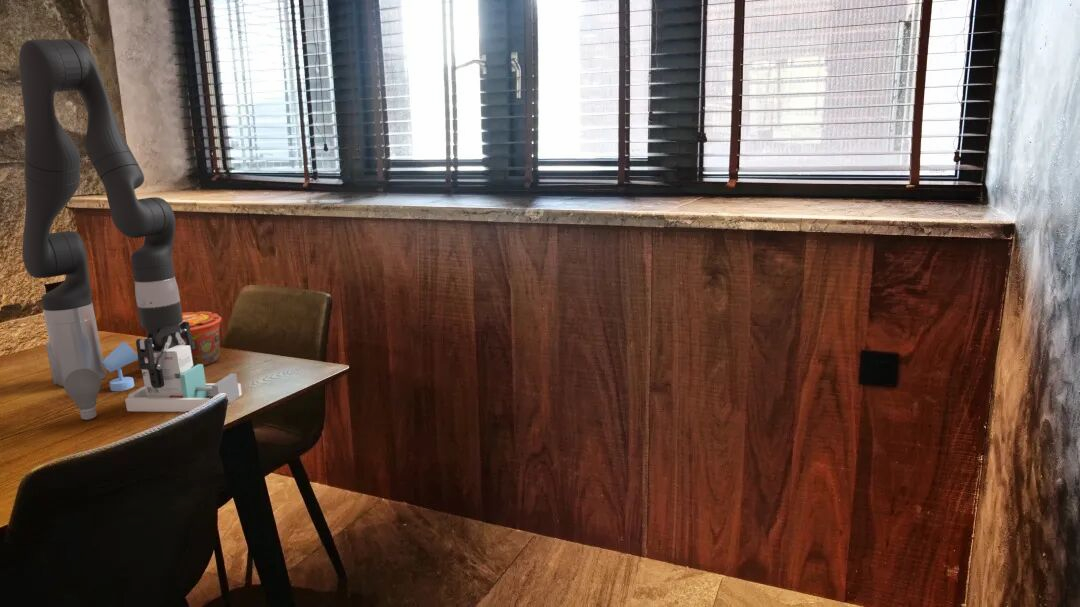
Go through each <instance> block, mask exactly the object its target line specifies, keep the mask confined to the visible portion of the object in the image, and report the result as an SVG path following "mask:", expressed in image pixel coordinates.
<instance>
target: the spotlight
mask: <svg viewBox="0 0 1080 607" xmlns="http://www.w3.org/2000/svg"><path fill="white" fill-rule="evenodd" d="M137 360H138V354H137V352H136V351H135V350H134V349H133V348H132V347H131V346H130V345H129V344H128V343H127V342H126V341H124V340H123V341H121V342H120V343H119V344H118V345H117V346H116V348H114V349H113V350H112V351H111V352H110V353H109V354H107V356H106V357H105V358H103V361H102V364H103V365H104V368H105V370H107V371H108V372H109V373H113V372H115V371H117V375H118V377H117V378H114V379H112V380H110V381H109V387H110V391H112V392H122V391H127V390H131V389H132V388H134V387H135V381H134V378H133V377H131V376H124V374H123V372H122V368H123V367H125V366H127V365H129V364H132V363H134V362H135V361H137Z"/></svg>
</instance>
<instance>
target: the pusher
mask: <svg viewBox="0 0 1080 607" xmlns="http://www.w3.org/2000/svg"><path fill="white" fill-rule="evenodd" d="M180 381H181V387H182V393H183V398H207V397H209V396H208V394H207V391H212V387H206V383H207V380H206V376H205V369H204V367H203V364H198V365H196V366H194V367H193V368H191V369H189V370H187V371H186V372H184V373H182V374H180Z"/></svg>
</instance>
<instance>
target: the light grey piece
mask: <svg viewBox="0 0 1080 607" xmlns="http://www.w3.org/2000/svg"><path fill="white" fill-rule="evenodd" d="M237 376H238V375H237V373H231V372H230V373H229V374H228V375H226V376H225V377H223V378H221V379H220V380H218V381H217V382H215V383H214V382H212V383H210V382H209V383H207V382H206V387H212V391H207V394H208V396H207V397H205V398H147V396H146V390H145V385H143V386H141V387H140V388H138V389H137V390H135V391H133V392H131V393H129V394H128V395H127V397H126V398H125V399H124V401H125V406H126V411H127V412H171V413H172V412H173V413H174V412H175V413H176V412H182V413H183V412H186V411H189V410H191V409H193V408H195V407H197V406H199V405H201V404H202V403H204V402H205V401H207V400H209V399H210V398H211V397H212V398H213V397H214V396H215V395H217V394H219V393H226V394H227V395H228V397H229V401H230V404H231V403H233V402H234V401H235V400H237V399H238V398H239V397H241V396H242V394H243V393H242V384H241V383H239V382H238V377H237Z"/></svg>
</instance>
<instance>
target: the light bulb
mask: <svg viewBox="0 0 1080 607" xmlns="http://www.w3.org/2000/svg"><path fill="white" fill-rule="evenodd" d="M101 387H102V380H101V379H100V377H99V376H98V375H97V374H96V373H95V372H94V371H92V370H90V369H78V370H75V371H73V372H71V373H70V374H69V375H68V376H67V378H66V380H65V382H64V387H63V389H64V391H65V394H67V396H69V397H70V399H72V400H73V402H74V403H75V404H76V405H75V406H76V407H77V408H78V409H79V414H80V419H82V420H86V421H89V420H92V419H94V418H95V417H96V416H97V411H96V410H97V409H96V405H97V396H98V394H99V392H100V389H101Z"/></svg>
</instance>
